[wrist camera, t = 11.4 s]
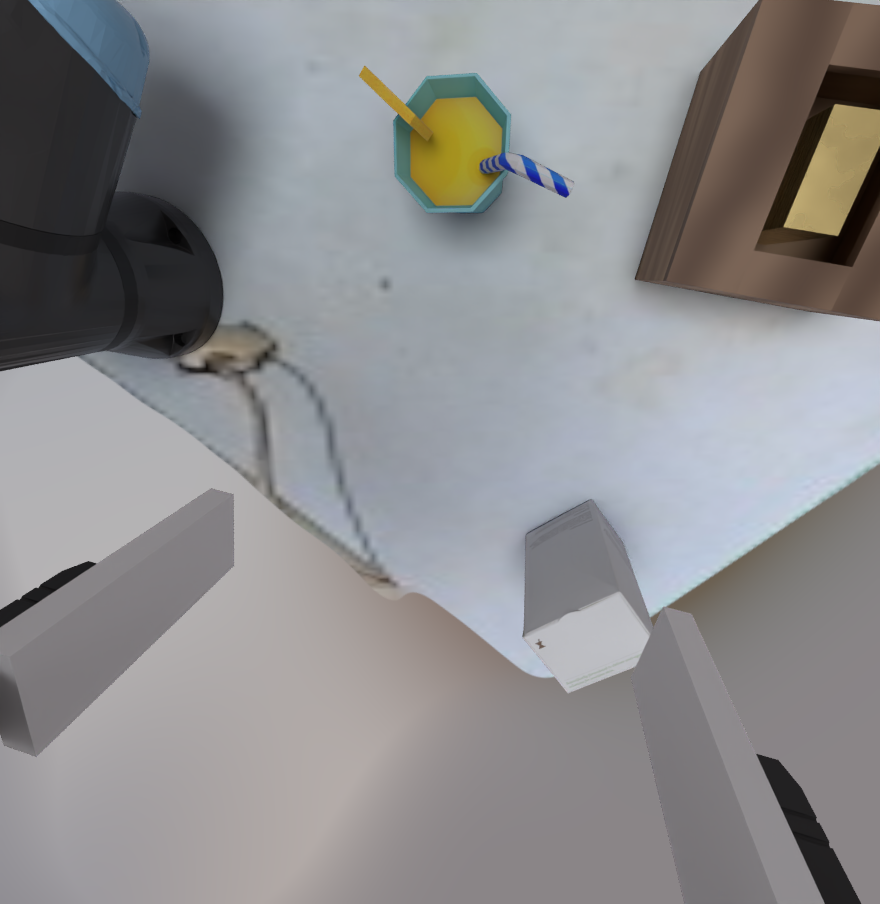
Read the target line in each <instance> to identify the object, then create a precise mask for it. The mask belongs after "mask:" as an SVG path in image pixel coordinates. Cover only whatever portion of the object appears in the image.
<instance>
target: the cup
mask: <svg viewBox="0 0 880 904" xmlns="http://www.w3.org/2000/svg"><path fill="white" fill-rule="evenodd" d="M359 77H360V78H362V79H363V80H364V81H365V82H366V83H367V84H368V85H369V86H370V87H371V88H372V89H373V90H374V91H375V92H376V93H377V94H378V95H379V96H380V97H381V98H382V99H383V100H384V101H385V102H386V103H387V104H388V105H389V106H390V107H391V108H393V109H394V110H395V111H396V112H397V113H398V115H397V116H396V118H395V119H394V120H393V126H394V169H395V177H396V178H397V179H398V181H399V182H400V183H401V184H402V185H403V186H404V187H405V188H406V190H407V191H408V192H409V193H410V194H411V195H412V196H413V198H414V199H415V200H416V201H417V202H418V203H419V204H420V206H421V207H422V208H423V209H424V210H425V211H426V212H427V213H439V212H456V213H483V212H484V211H485V210H486V209H487V208H488V207H489V206H490V205H491V204H492V203H493V202H494V200H495V199H496V198H497V197H498V196H499V195H500V194H501V193H502V182H503V179H504V178H505V177H506V176H507V174H508V171H511V172H513V173H515V174H517V175H519V176H521V177H524V178H526V179H528V180H530V181H532V182H534V183H536V184H538V185H540V186H542V187H544V188H547V189H549V190H551V191H553V192H555V193H557V194H559V195H561V196H563V197H565V198H566V197H567V196H568V195H569V194H570V192H571V190H572V188H573V185H574V182H573V181H571V180H570V179H568V178H566V177H564V176H562V175H560V174H558V173H556V172H554V171H552V170H550V169H548V168H546V167H545V166H543V165H541V164H539V163H537V162H535V161H533V160H531V159H529V158H527V157H525V156H523V155H519V154H514V153H509V142H510V124H511V114H510V113H509V112H508V110H507V109H506V108H505V107H504V106H503V104H502V103H501V102H500V101H499V99H498V98H497V97H496V96H495V95H494V93H493V92H492V91H491V90H490V88H489V87H488V86H487V85H486V84H485V82H484V81H483V80H482V79H481V78H480V76H479V75H478V74H477V73H469V74H454V75H440V76H427V77H426V78H425V79H424V81H423V82H422V83H421V85H420V86H419V87H418V89H417V90H416V91H415V93H414V94H413V95H412V97H411V98H410V99H409V101H408V102H407V103H406V105H405V104H404V103H403V102H402V101H401V100H400V99H399V98H398V97H397V96H396V95H395V94H394V93H393V92H392V91H390V90H389V89H388V88H387V87H386V86H385V85H384V84H383V83H382V82H381V81H380V80H379V79H378V78H377V77H376V76H375V75H374V74H373V73H372V72H371V71H370V70H369V69H368V68H367V67H366V66H364V67H363V69H362V71H361V73H360V75H359Z"/></svg>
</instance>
